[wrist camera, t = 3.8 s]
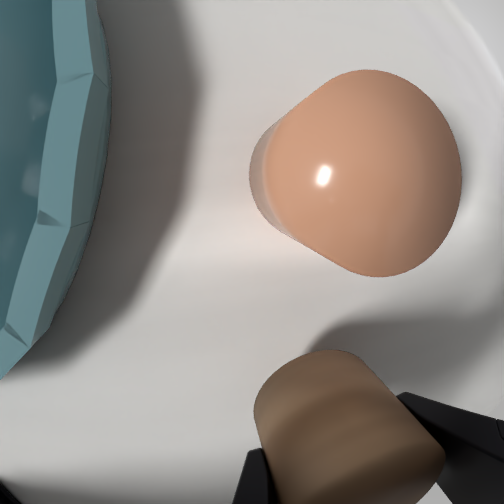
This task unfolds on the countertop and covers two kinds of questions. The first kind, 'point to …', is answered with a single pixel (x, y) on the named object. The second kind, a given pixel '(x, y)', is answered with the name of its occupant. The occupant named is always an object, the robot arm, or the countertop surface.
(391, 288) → the countertop surface
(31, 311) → the teal round plate
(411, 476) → the bead walnut
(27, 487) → the countertop surface
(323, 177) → the bead terracotta
